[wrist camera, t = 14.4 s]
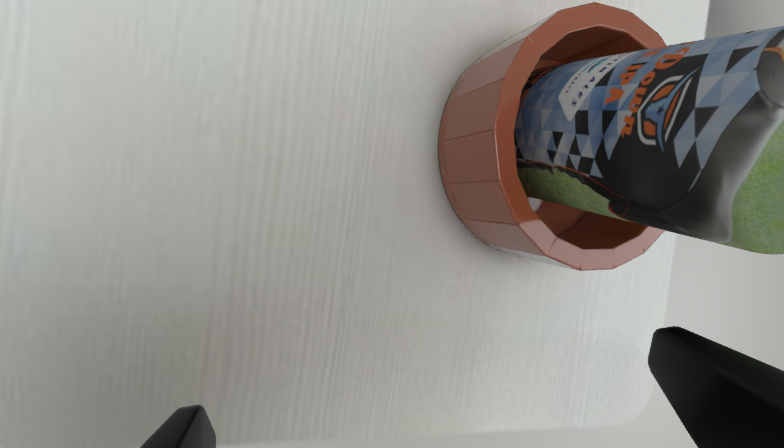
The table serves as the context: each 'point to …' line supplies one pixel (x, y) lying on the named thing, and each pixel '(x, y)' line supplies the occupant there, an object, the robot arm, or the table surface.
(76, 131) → the table surface
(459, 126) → the bowl
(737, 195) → the beverage can
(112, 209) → the table surface
